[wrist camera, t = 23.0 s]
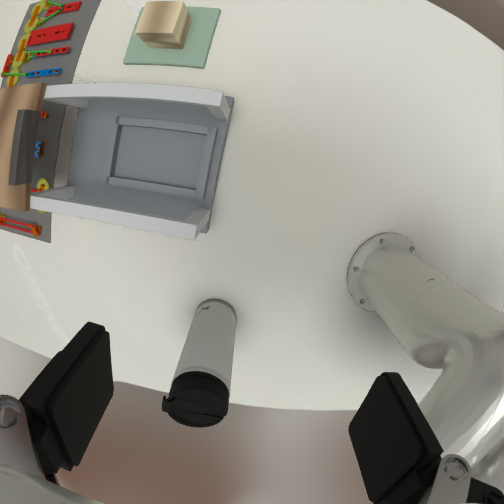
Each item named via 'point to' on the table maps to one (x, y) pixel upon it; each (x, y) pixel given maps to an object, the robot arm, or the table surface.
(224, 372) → the travel mug
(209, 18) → the rubber mat
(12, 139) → the sliding cover
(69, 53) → the gear board
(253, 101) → the table surface
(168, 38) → the maple block
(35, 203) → the grey frame
